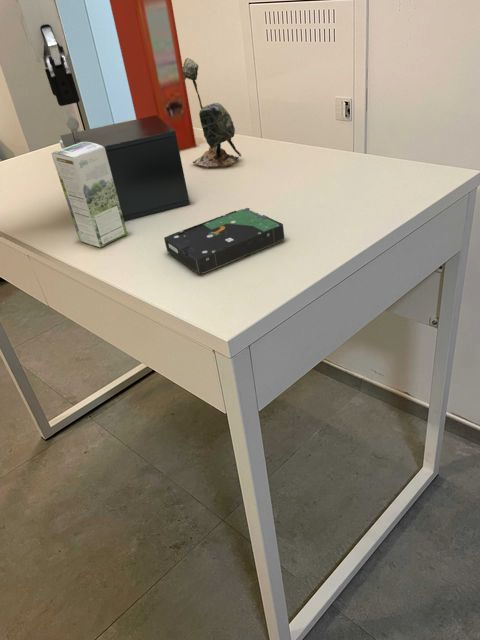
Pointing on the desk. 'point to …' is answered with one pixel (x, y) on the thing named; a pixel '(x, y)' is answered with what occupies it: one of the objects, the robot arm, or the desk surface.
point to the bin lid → (117, 132)
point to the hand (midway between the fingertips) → (66, 98)
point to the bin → (148, 177)
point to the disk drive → (224, 239)
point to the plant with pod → (212, 126)
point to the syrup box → (90, 193)
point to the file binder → (154, 63)
